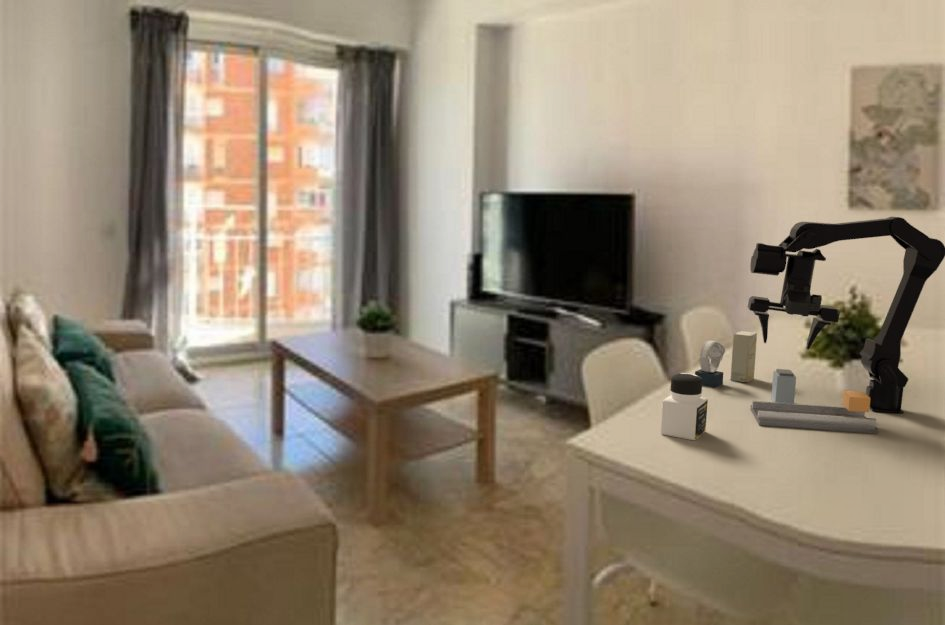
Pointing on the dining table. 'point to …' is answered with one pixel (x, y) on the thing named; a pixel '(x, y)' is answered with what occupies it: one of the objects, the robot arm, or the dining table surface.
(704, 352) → the watch
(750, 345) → the skincare box
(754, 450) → the dining table surface
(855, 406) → the plain orange cuboid
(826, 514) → the dining table surface
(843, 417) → the rail plate
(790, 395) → the block
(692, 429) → the medicine bottle
